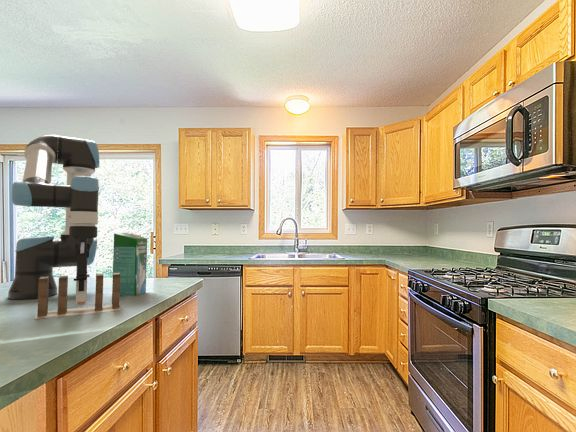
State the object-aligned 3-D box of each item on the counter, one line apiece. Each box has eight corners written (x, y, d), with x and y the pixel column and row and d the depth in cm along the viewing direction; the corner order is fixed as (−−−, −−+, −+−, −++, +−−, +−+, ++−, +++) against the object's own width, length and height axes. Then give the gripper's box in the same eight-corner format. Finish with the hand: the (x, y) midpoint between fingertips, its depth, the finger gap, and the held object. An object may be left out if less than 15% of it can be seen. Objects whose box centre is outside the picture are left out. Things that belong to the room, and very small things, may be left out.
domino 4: (111, 306, 107) (112, 272, 107) (118, 305, 108) (119, 272, 108) (112, 309, 103) (113, 274, 104) (119, 308, 104) (120, 274, 105)
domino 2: (58, 311, 100) (60, 275, 100) (66, 310, 101) (67, 275, 101) (57, 315, 96) (58, 277, 96) (65, 314, 97) (66, 277, 97)
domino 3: (95, 307, 105) (96, 273, 105) (102, 307, 106) (103, 273, 106) (95, 311, 101) (96, 275, 101) (102, 310, 102) (103, 275, 102)
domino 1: (39, 313, 97) (40, 277, 98) (47, 312, 98) (49, 276, 99) (37, 317, 93) (38, 279, 94) (45, 316, 94) (47, 278, 95)
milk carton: (135, 298, 123) (137, 233, 124) (111, 297, 123) (113, 232, 124) (145, 293, 132) (147, 232, 133) (124, 293, 132) (125, 232, 133)
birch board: (38, 315, 99) (39, 311, 99) (119, 306, 110) (119, 303, 110) (34, 322, 91) (34, 319, 91) (121, 313, 102) (121, 309, 102)
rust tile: (77, 302, 102) (78, 267, 102) (85, 301, 103) (86, 267, 103) (76, 305, 98) (78, 269, 99) (84, 304, 99) (85, 268, 100)
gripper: (71, 225, 107) (68, 296, 106) (67, 225, 92) (64, 307, 91) (97, 225, 111) (95, 293, 110) (97, 225, 96) (95, 304, 95)
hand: (81, 299), depth 101 cm, fingers closed on rust tile, 4 cm apart
